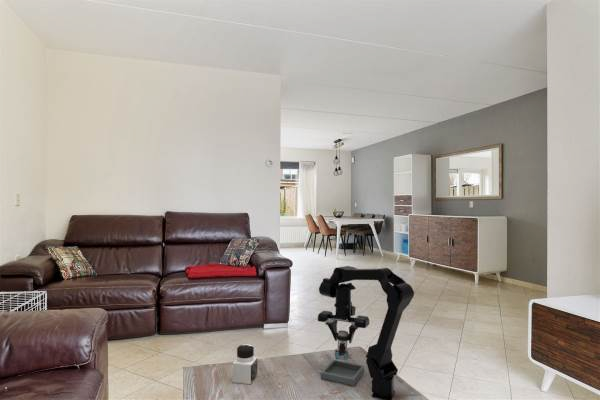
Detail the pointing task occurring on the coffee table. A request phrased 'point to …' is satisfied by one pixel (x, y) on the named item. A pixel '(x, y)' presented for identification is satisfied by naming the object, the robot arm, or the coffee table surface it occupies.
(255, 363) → the medicine bottle
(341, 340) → the push button
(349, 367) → the charcoal tray
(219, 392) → the coffee table surface
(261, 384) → the coffee table surface
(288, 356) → the coffee table surface
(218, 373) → the coffee table surface
